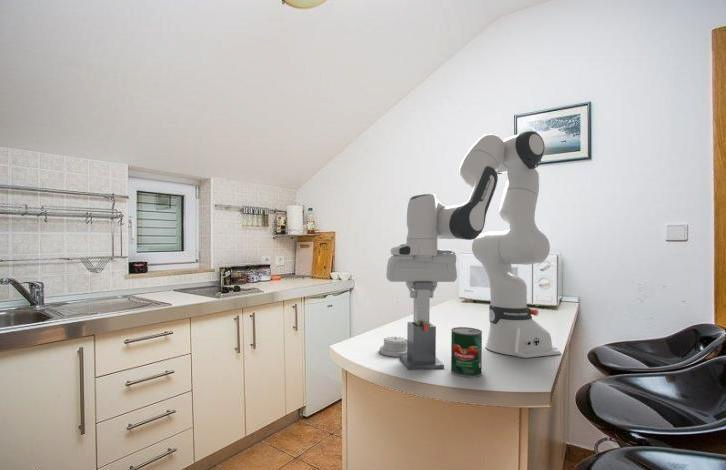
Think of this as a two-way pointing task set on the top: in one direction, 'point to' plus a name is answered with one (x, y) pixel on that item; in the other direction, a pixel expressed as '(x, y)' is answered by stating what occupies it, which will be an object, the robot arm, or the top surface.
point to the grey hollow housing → (421, 347)
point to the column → (421, 302)
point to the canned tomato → (466, 351)
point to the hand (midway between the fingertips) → (421, 297)
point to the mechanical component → (394, 346)
